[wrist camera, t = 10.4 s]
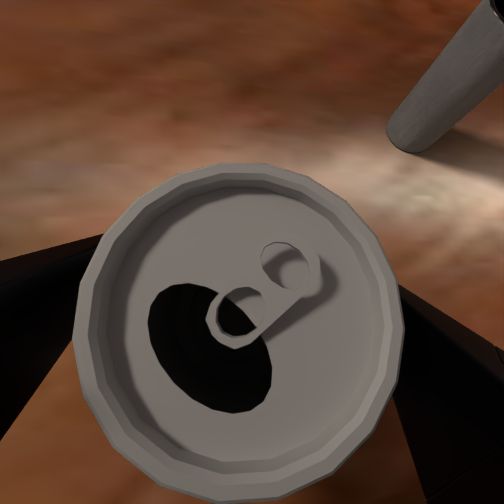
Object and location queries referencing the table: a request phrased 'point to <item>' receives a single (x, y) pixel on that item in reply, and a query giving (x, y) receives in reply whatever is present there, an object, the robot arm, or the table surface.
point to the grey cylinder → (453, 81)
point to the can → (238, 333)
